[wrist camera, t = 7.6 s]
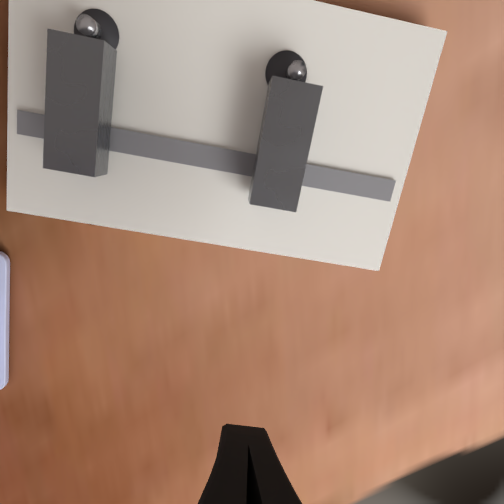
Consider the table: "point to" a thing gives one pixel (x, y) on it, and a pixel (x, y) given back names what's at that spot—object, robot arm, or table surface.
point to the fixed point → (78, 100)
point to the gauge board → (229, 121)
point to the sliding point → (284, 140)
